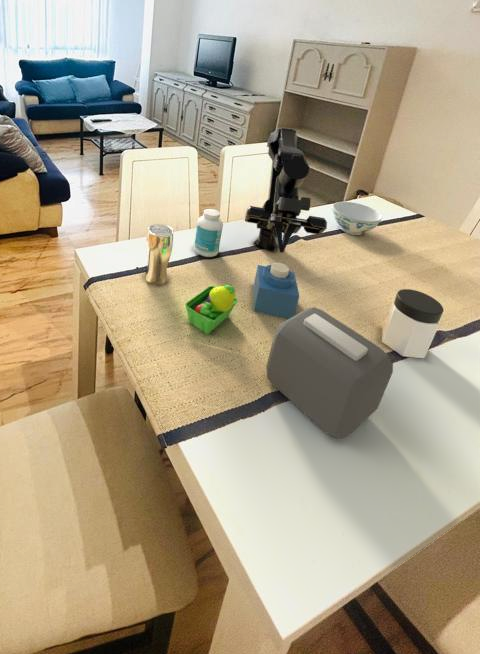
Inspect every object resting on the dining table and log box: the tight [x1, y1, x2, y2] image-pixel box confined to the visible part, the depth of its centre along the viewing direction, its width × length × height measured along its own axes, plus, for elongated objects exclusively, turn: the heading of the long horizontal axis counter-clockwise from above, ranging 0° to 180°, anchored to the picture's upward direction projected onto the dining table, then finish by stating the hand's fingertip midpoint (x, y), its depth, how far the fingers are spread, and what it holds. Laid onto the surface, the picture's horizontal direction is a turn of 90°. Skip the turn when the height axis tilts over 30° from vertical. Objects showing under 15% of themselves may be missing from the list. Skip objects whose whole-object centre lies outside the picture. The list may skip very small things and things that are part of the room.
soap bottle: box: [252, 264, 300, 320], centre depth 96 cm, size 10×9×9 cm
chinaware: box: [332, 201, 383, 236], centre depth 135 cm, size 15×15×8 cm
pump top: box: [270, 262, 290, 279], centre depth 94 cm, size 4×4×2 cm
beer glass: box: [144, 223, 174, 286], centre depth 102 cm, size 7×7×15 cm
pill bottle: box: [193, 208, 224, 258], centre depth 116 cm, size 8×7×14 cm
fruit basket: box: [185, 284, 238, 335], centre depth 88 cm, size 11×9×11 cm
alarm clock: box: [265, 306, 394, 439], centre depth 69 cm, size 16×11×16 cm
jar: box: [381, 288, 444, 359], centre depth 84 cm, size 9×8×12 cm
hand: (281, 252), depth 95 cm, fingers closed
